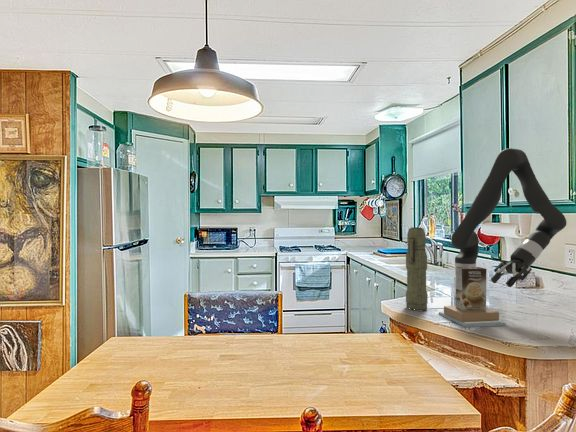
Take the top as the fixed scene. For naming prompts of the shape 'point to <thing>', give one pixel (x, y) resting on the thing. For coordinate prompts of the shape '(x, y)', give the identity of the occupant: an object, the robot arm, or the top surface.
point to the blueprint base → (472, 317)
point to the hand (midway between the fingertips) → (500, 283)
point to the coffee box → (471, 288)
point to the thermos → (416, 269)
